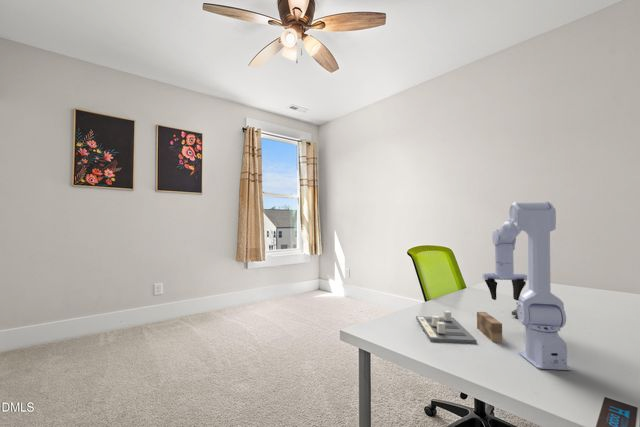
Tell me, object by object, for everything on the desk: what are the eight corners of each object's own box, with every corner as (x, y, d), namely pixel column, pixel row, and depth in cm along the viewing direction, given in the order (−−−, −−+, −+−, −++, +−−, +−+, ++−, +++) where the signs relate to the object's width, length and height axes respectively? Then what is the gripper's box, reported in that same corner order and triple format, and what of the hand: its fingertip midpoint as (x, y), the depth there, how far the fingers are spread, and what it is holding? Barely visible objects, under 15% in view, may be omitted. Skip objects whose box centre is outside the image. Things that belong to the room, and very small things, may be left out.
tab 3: (451, 321, 110) (451, 312, 110) (445, 320, 110) (445, 312, 110) (449, 319, 112) (449, 310, 112) (443, 319, 112) (443, 310, 112)
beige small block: (444, 333, 98) (444, 323, 98) (438, 333, 98) (438, 323, 98) (443, 331, 100) (443, 321, 100) (436, 331, 100) (436, 321, 100)
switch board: (476, 343, 93) (476, 339, 93) (430, 341, 95) (430, 337, 95) (453, 320, 115) (453, 317, 115) (416, 318, 116) (416, 315, 117)
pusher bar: (502, 342, 94) (502, 323, 94) (492, 342, 94) (492, 323, 94) (486, 329, 106) (485, 312, 106) (477, 328, 106) (476, 311, 106)
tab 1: (439, 326, 104) (439, 317, 104) (433, 326, 104) (433, 317, 104) (437, 324, 106) (437, 315, 106) (431, 324, 106) (431, 315, 106)
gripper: (519, 261, 113) (520, 297, 112) (479, 260, 114) (479, 296, 114) (530, 263, 106) (531, 302, 105) (487, 263, 107) (487, 301, 107)
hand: (504, 299), depth 109 cm, fingers open, 7 cm apart
